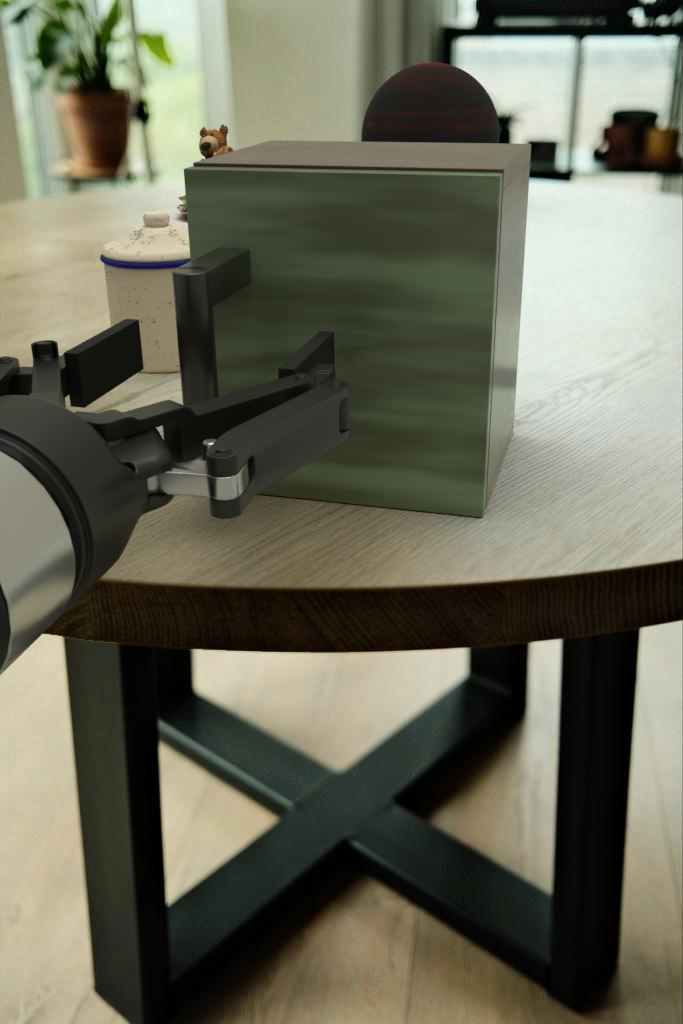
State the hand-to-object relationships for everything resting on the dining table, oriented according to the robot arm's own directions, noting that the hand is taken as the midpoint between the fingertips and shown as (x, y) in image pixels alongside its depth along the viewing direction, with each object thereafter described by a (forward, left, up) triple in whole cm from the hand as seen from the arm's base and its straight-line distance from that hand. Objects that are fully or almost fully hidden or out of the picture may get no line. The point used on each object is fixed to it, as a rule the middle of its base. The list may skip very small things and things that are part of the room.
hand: (228, 350), depth 53 cm
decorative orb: (-11, +107, -9) cm, 108 cm away
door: (+5, -1, -9) cm, 10 cm away
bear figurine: (-39, +95, -9) cm, 103 cm away
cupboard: (+5, +9, -9) cm, 14 cm away
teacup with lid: (-17, +27, -9) cm, 33 cm away
